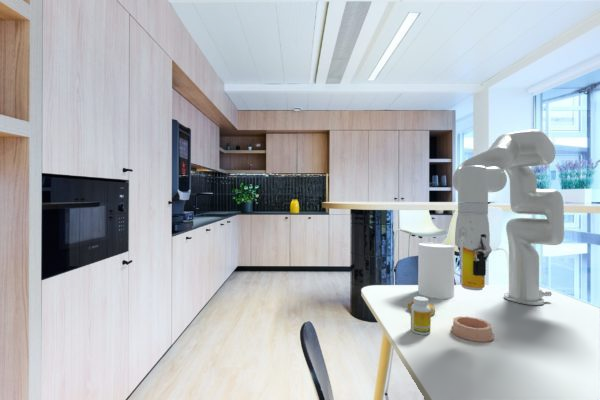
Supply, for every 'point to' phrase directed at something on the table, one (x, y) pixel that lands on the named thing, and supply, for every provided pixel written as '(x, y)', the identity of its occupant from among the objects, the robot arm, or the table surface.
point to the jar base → (472, 329)
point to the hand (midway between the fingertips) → (472, 272)
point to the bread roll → (428, 305)
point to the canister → (436, 270)
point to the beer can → (469, 269)
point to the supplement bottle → (420, 316)
